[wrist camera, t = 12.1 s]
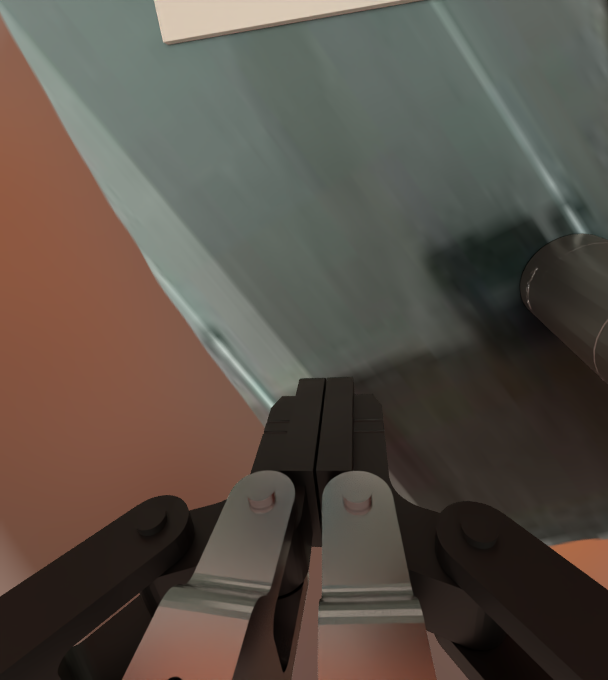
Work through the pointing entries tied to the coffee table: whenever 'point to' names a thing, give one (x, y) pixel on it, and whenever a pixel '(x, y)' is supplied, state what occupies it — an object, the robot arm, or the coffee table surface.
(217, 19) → the base plate
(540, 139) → the coffee table surface
